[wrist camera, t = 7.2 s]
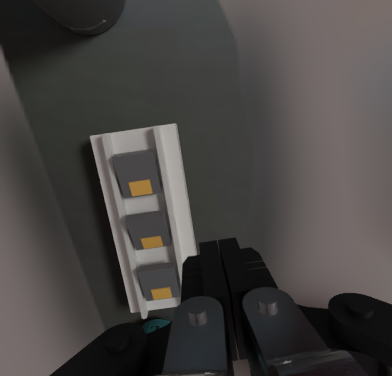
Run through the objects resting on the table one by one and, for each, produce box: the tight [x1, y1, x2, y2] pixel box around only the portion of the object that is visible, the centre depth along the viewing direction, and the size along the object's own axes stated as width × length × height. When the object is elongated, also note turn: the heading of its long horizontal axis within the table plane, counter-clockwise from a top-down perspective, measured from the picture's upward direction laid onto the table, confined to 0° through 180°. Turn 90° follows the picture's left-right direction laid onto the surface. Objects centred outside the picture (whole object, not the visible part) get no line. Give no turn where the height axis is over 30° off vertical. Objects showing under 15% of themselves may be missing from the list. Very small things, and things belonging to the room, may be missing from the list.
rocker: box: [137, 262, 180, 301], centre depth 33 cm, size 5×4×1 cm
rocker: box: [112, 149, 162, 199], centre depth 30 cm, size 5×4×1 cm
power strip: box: [90, 124, 197, 319], centre depth 34 cm, size 24×10×5 cm, turn 8°
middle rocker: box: [125, 210, 171, 250], centre depth 32 cm, size 5×4×1 cm
